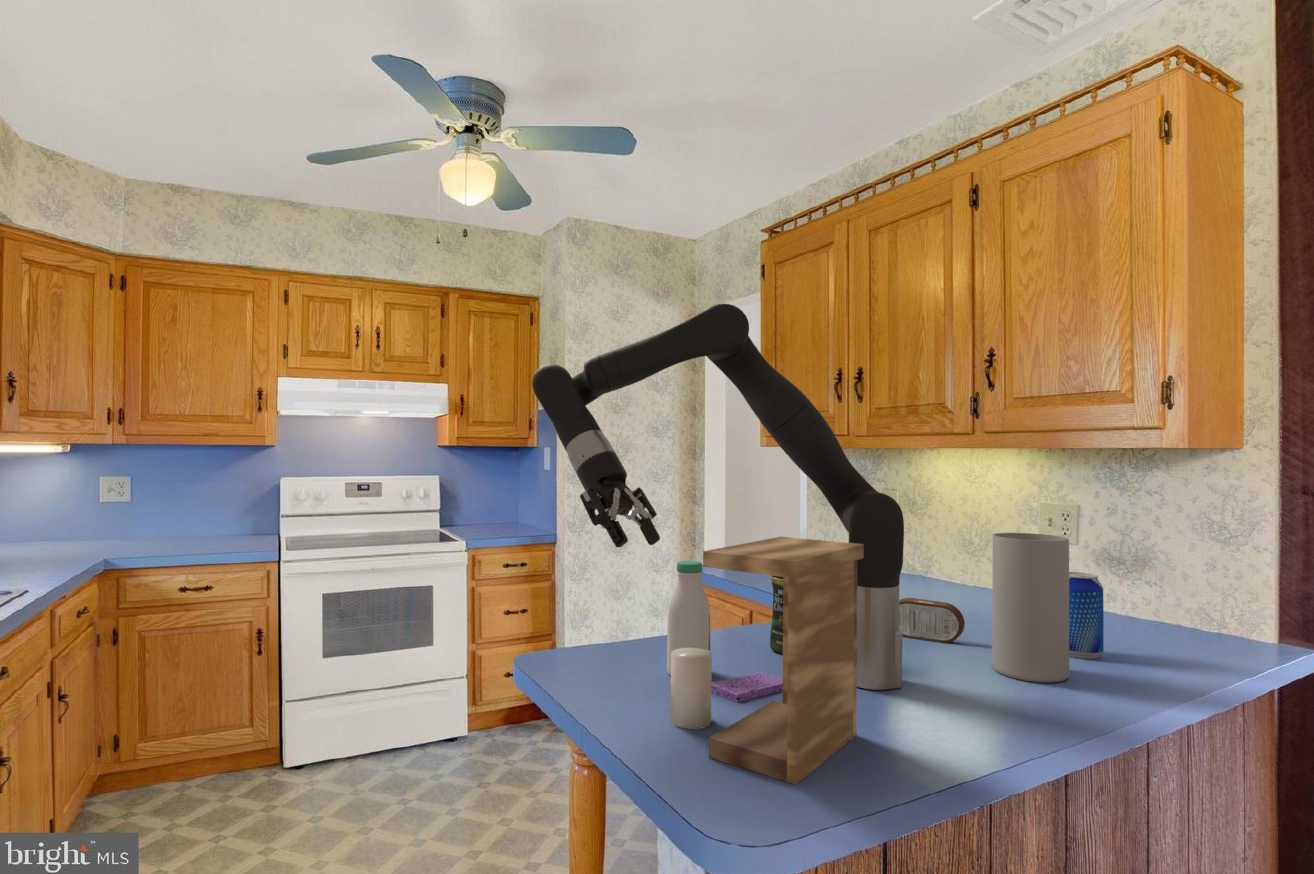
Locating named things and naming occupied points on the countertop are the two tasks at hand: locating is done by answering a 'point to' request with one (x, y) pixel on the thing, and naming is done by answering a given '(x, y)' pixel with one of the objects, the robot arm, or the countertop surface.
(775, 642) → the coffee jar
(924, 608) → the tin
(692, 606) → the milk bottle
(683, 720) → the candle
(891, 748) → the countertop surface
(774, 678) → the sponges
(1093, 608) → the beer can
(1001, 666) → the cylinder vase
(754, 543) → the wooden c-shaped stand
